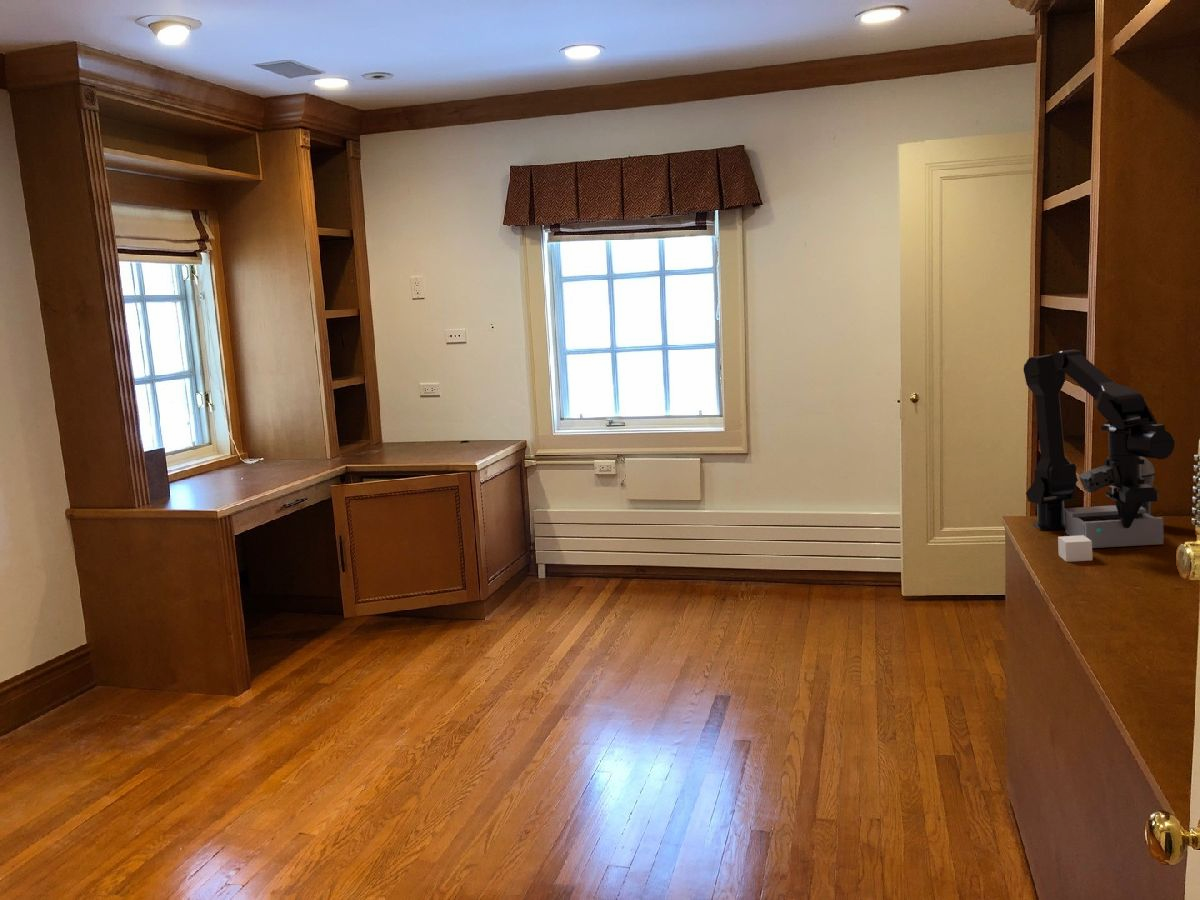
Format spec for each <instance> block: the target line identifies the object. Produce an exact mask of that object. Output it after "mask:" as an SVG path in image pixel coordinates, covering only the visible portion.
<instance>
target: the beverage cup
mask: <svg viewBox="0 0 1200 900" xmlns="http://www.w3.org/2000/svg"><path fill="white" fill-rule="evenodd" d="M1140 458H1142V459H1144V464H1141V478H1143V479H1145V484H1148V485H1150V486H1152V487H1153V485H1154V484H1153V483H1154V479H1155V475H1156V472H1155V468H1154V465H1153V463H1152V462H1151V461H1150V460H1149V459H1147V457H1141V456H1140ZM1138 485H1142V484H1138ZM1151 506H1152V502H1143V504H1142V506H1141V507H1143V508H1145V509H1146V513H1148V514H1149V515H1151V509H1152V507H1151Z"/></svg>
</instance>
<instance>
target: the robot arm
mask: <svg viewBox="0 0 1200 900" xmlns="http://www.w3.org/2000/svg"><path fill="white" fill-rule="evenodd" d="M1023 375H1024V378H1025V382H1026V383H1025V384H1026V386H1027V387H1028V388H1029V390H1030V391H1031V393H1033V395H1034V396H1035V397H1034V398H1035V407H1036V420H1037V430H1038V439H1039V452H1040V460H1039V461H1038V463H1037V465H1036V468H1035V469H1034V482H1032V484H1031V485H1030V486H1029V488H1028V489H1027V491H1026V493H1025V495H1026V498H1027V501H1028V502H1030V503H1033V504H1036V513H1037V514H1036V515H1037V521H1032V525H1033V526H1035V527H1036V528H1037V529H1039V530H1040V531H1047V530H1062V529H1063V530H1065V510H1064V508H1065V501H1068V500H1069V501H1072V500H1073V499H1074V495H1075V492H1076V491H1075V490H1076V489H1077V482H1078V481H1079V480H1080V481H1079V482H1080V484H1081V485H1082V488H1083V490H1084V491H1087V492H1088V493H1091V494H1092V493H1095V492H1097V491H1098V490H1100V489H1102V488H1105V487H1107V486H1108V491H1107V492H1104V495H1106V496H1107V497H1108V498H1109V499H1111V500H1112V501H1113V502H1114V504H1115V505H1116V507H1117V510H1118V513H1119V517H1120V520H1121V523H1122V526H1123V527H1124V528H1130V526H1131V524H1132V522H1133V520H1134V518H1135V516H1136V514H1137V513H1138V511H1139V509H1140V507H1141V506H1142V504H1143V502H1151V503H1152V502H1158V501H1159V500H1160V494H1159V493H1160V491H1159V490H1158V489H1156V488H1155V486H1153V485H1152V486H1150V485H1148V484H1145V479H1143V478H1141V464H1144V459H1142V458H1140V456H1141V457H1144V458H1146V459H1147V458H1149V459H1154V460H1162V461H1163V460H1165V459H1168V458H1169V457H1170V456H1171V455H1172V454H1173V451H1175V450H1174V449H1175V439H1174V437H1173V436H1172V434H1171V433H1170V432H1169V431H1168V430H1167V431H1166V426H1165V424H1161V423H1158V422H1157V420H1156V419H1155V416H1154V414H1153V413H1152V411H1151V410H1150V408H1149V407H1148V404H1147V402H1146V401H1145V398H1144V396H1143V395H1142V394H1141V393H1140V392H1139V391H1136V390H1135V389H1133V388H1131V387H1129V386H1126V385H1123V384H1119V383H1117V382H1115V381H1113V380H1112V379H1111V378H1109V377H1108V375H1107V374H1105V373H1104V372H1102V370H1100V369H1099V368H1098V367H1097V366H1096V365H1094V364H1093V363H1092V362H1091V361H1090V360H1089V359H1087V358H1086V357H1085V356H1084V354H1083V352H1082V351H1080V350H1077V349H1068V350H1060V351H1057V353H1053V354H1047V355H1039V356H1038V355H1037V356H1032V357H1029V358H1028V359H1027V360H1026V362H1025V363H1024V365H1023ZM1066 375H1067V376H1069V378H1071V379H1072V380H1073V382H1076V384H1077V385H1079V386H1080V387H1081V388H1082V389H1083V390H1084V391H1085V392H1087V393H1088V394H1089V395H1090V396H1091V398H1093V399H1094V400H1095V407H1096V409H1097V411H1098V412H1099V414H1101V416H1102V417H1103V418H1104V419H1105V421H1106V422H1105V423H1104V424H1103V425H1102V426H1100V430H1101V431H1105V432H1107V435H1108V436H1107V437H1108V457H1105V459H1103V465H1101V466H1099V467H1096V468H1093V469H1090V470H1088V471H1085V472H1082V473H1081V474H1079V475H1078V477H1077V466H1076V464H1075V463H1071V462H1070V461H1069V460H1068V459H1067V457H1066V455H1065V454H1066V453H1065V443H1064V433H1063V422H1062V413H1061V410H1062V409H1061V400H1060V392H1061V391H1062V388H1063V386H1064V385H1065V382H1066ZM1157 423H1158V424H1157ZM1138 484H1142V485H1138Z"/></svg>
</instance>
